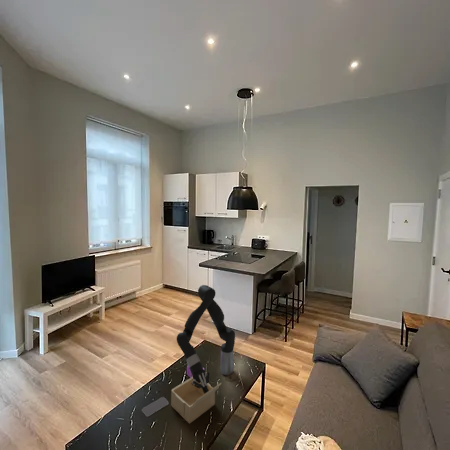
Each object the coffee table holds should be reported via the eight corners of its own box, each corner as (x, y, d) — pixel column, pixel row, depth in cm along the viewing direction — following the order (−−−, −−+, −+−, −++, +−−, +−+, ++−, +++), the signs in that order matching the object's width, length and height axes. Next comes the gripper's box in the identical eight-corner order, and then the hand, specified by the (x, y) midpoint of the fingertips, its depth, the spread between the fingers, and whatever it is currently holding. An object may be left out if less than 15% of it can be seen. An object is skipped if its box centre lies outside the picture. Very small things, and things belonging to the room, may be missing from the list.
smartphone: (141, 409, 152) (163, 396, 163) (141, 410, 152) (163, 397, 163) (146, 416, 147) (169, 403, 157) (146, 418, 147) (169, 404, 157)
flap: (221, 382, 152) (221, 383, 152) (215, 389, 156) (215, 390, 156) (197, 399, 139) (197, 400, 138) (191, 406, 143) (191, 407, 142)
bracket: (190, 378, 181) (190, 369, 181) (186, 374, 186) (186, 365, 185) (205, 371, 189) (205, 362, 189) (201, 367, 194) (201, 358, 193)
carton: (196, 388, 171) (196, 374, 170) (215, 403, 158) (215, 388, 158) (169, 405, 156) (169, 390, 155) (188, 424, 143) (188, 407, 142)
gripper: (188, 366, 148) (201, 397, 140) (205, 357, 157) (218, 386, 150) (183, 370, 152) (195, 401, 144) (199, 361, 161) (212, 389, 154)
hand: (207, 393), depth 147 cm, fingers closed
